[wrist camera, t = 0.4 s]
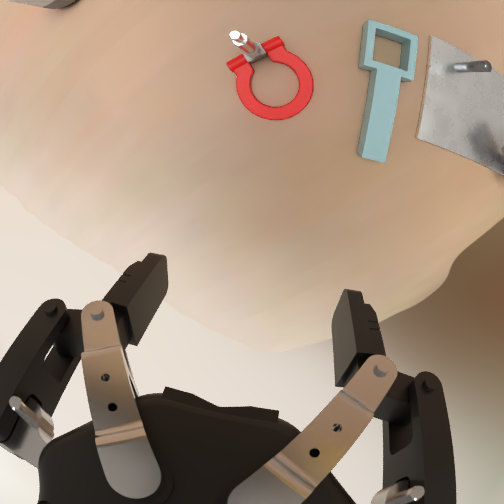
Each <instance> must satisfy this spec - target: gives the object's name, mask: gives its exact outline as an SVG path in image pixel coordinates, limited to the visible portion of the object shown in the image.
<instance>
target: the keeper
mask: <svg viewBox="0 0 504 504" xmlns="http://www.w3.org/2000/svg"><path fill="white" fill-rule="evenodd" d="M501 150H502V153H503V156H504V146H503V147H502V148H501ZM500 165H501V168H502V171H503V174H504V160H503V161H502V162H501V163H500Z"/></svg>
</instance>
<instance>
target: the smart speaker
mask: <svg viewBox="0 0 504 504" xmlns="http://www.w3.org/2000/svg"><path fill="white" fill-rule="evenodd" d="M6 1H12V2H18V3H23V4H29V5H33V6H38V7H43V8H50V9H56V8H62V7H65V6H67V5H70V4H71V3H73V2H74V1H75V0H6Z"/></svg>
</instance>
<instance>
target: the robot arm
mask: <svg viewBox="0 0 504 504" xmlns="http://www.w3.org/2000/svg"><path fill="white" fill-rule="evenodd" d="M167 289H168V271H167V258H166V256H165V255H160V254H155V253H149V254H148V255H147V256H146V257H145V258H144V260H143V261H142V262H140V261H137V262H135V263H134V264H132V265H130V266H129V267H128V268H127V269H126V270H125V272H124V273H123V275H121V277H120V278H119V280H118V281H117V282H116V283H115V284H114V286H113V287H112V288H111V289H110V291H109V292H108V293H107V294H106V296H105V297H104V299H103V300H102V301H94V302H91V303H89V304H88V305H86V306H85V307H84V308H83V310H76V309H67V308H66V305H65V303H64V302H63V301H62V300H60V299H50V300H47V301H45V302H44V303H43V304H42V305H41V306H40V307H39V308H38V310H37V311H36V312H35V313H34V315H33V316H32V317H31V319H30V320H29V321H28V323H27V324H26V325H25V327H24V328H23V330H22V331H21V332H20V334H19V335H18V337H17V338H16V339H15V341H14V342H13V344H12V345H11V347H10V348H9V350H8V351H7V353H6V354H5V356H4V357H3V359H2V360H1V362H0V446H1V447H3V448H4V449H6V450H7V451H9V452H10V453H13V454H14V455H16V456H17V457H19V458H21V459H24V460H26V461H27V462H29V463H30V464H32V465H33V466H35V467H37V468H38V471H39V481H40V493H39V500H38V503H37V504H356V503H355V502H354V501H353V500H352V498H351V497H350V496H349V495H348V493H347V492H346V491H345V490H344V488H343V487H342V486H341V485H340V483H339V482H338V481H337V479H336V478H335V477H334V475H333V474H332V473H331V470H332V469H333V468H334V467H335V466H336V464H337V463H338V462H339V461H340V459H341V458H342V457H343V456H344V455H345V454H346V452H347V451H348V450H349V449H350V447H351V446H352V445H353V444H354V442H355V441H356V440H357V439H358V437H359V436H360V435H361V433H362V432H363V431H364V429H365V428H366V426H367V425H368V424H369V422H370V421H371V419H372V418H373V417H375V418H378V419H381V420H383V489H382V490H380V491H379V492H377V493H376V494H375V496H374V497H373V499H372V501H371V504H456V479H455V478H456V477H455V464H454V454H453V446H452V438H451V431H450V424H449V419H448V413H447V407H446V402H445V397H444V392H443V388H442V384H441V382H440V380H439V379H438V377H437V376H435V375H434V374H432V373H430V372H426V371H425V372H421V373H419V374H418V375H417V376H416V377H415V378H414V377H411V376H408V375H406V374H403V373H400V372H398V371H397V368H396V365H395V364H394V362H393V361H392V360H390V359H389V358H388V357H386V354H385V349H384V345H383V340H382V336H381V332H380V327H379V324H378V319H377V315H376V312H375V311H374V310H373V308H372V307H371V305H370V304H364V300H363V296H362V293H361V291H355V290H349V289H344V291H343V293H342V295H341V298H340V300H339V303H338V305H337V307H336V310H335V312H334V315H333V319H332V338H333V352H334V369H335V386H336V387H344V388H343V390H341V391H340V392H339V393H338V394H337V395H336V396H335V397H334V398H333V399H332V401H331V402H330V403H329V404H328V405H327V406H326V407H325V408H324V409H323V410H322V411H321V412H320V414H319V415H318V416H317V417H316V418H315V419H314V420H313V421H312V422H311V423H310V424H309V425H308V426H307V427H306V428H305V429H304V430H303V431H302V432H300V431H299V430H298V429H297V428H296V427H294V426H293V425H291V424H290V423H288V422H286V421H284V420H282V419H279V418H278V414H279V411H278V410H271V409H264V408H257V407H252V406H249V407H218V406H216V405H214V404H212V403H210V402H207V401H206V400H204V399H202V398H200V397H198V396H195V395H194V394H191V393H187V392H183V391H180V390H176V389H173V388H169V387H165V389H164V392H163V393H153V394H146V395H143V396H139V393H138V390H137V388H136V385H135V381H134V378H133V375H132V371H131V368H130V364H129V361H128V357H127V353H126V350H125V349H126V347H127V345H128V344H132V345H135V346H137V345H138V343H139V341H140V340H141V338H142V336H143V334H144V332H145V331H146V329H147V327H148V325H149V323H150V322H151V320H152V318H153V316H154V315H155V313H156V311H157V309H158V308H159V306H160V304H161V302H162V301H163V299H164V297H165V295H166V293H167ZM52 345H54V346H53V348H52V349H51V351H50V353H49V355H48V356H47V358H46V359H45V356H46V354H47V353H48V351H49V349H50V348H51V347H52ZM44 359H45V361H44ZM81 359H82V366H83V374H84V380H85V386H86V391H87V396H88V402H89V407H90V412H91V417H92V421H90V422H88V423H86V424H84V425H82V426H80V427H78V428H76V429H74V430H72V431H70V432H68V433H66V434H64V435H61V436H59V437H57V438H55V439H53V440H52V438H53V437H54V432H53V430H54V424H53V421H52V419H51V417H52V415H53V413H54V410H55V408H56V406H57V404H58V402H59V400H60V398H61V396H62V394H63V392H64V390H65V388H66V386H67V384H68V382H69V380H70V378H71V376H72V374H73V373H74V371H75V369H76V367H77V365H78V363H79V361H80V360H81Z"/></svg>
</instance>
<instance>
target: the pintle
mask: <svg viewBox="0 0 504 504" xmlns="http://www.w3.org/2000/svg"><path fill="white" fill-rule="evenodd" d="M454 68H455V70H456V71H457V72H458V73H466V72H491V70H492V67H491V64H490V63H489V62H488V61H486V60H485V61H471V62H461V63H455V65H454Z"/></svg>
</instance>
